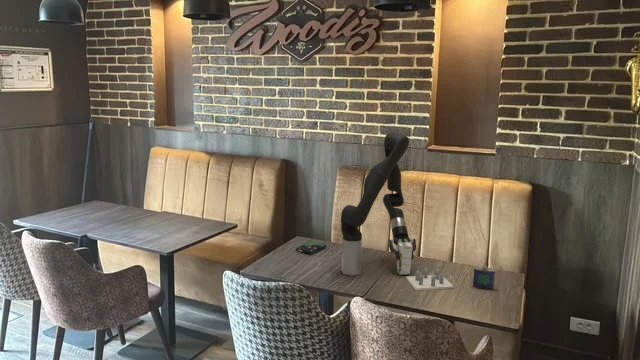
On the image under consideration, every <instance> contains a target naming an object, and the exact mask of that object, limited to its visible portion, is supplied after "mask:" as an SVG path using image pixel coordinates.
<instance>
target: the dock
mask: <svg viewBox="0 0 640 360" xmlns="http://www.w3.org/2000/svg"><path fill="white" fill-rule="evenodd" d="M440 271H441V270H440V269H439V268H435V275H434V274H430V275H428V272H429V268H428V267H424V268H423V274H422V273H420V270H419V269H417V270H416V269H415V275H414V276H413V275H412V276H411V275H408V276H405V280H407V282H408V283H409V285H410V286H411V287H412V288H413V289H414V290H415V291H432V290H433V291H435V290H447V289H448V290H452V289H454V286H453V284H452V283H451V282H450V281H449V280H447V278H446V277H444V276H445V273H443V272H440Z"/></svg>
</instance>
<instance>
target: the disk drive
mask: <svg viewBox="0 0 640 360" xmlns="http://www.w3.org/2000/svg"><path fill="white" fill-rule="evenodd" d="M325 249H327V244H325V243H321V242H316V241H308V242H307V243H305V244H302V245H300V246H298V247H296V249H295V252H296V251H298V252H297V253H299V252H301V253H300V254H303V253H304V255H307V254H308V256H314V255H315V254H317V253H319V252H321V251H324V250H325ZM313 254H314V255H313Z"/></svg>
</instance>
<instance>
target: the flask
mask: <svg viewBox="0 0 640 360" xmlns="http://www.w3.org/2000/svg"><path fill="white" fill-rule="evenodd" d="M487 267H488V265H484V266H483V267H480V266H478V267H474V269H473V282H472V287H473V288H475V289H480V290H491V291H492V290H494V288H495V278H496V270H495V269H489V268H487Z"/></svg>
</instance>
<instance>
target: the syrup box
mask: <svg viewBox="0 0 640 360" xmlns="http://www.w3.org/2000/svg"><path fill="white" fill-rule="evenodd" d="M398 244H399V249H398V252H399V256H400V260H397V259H396V273H398V275H411V268H412V267H411V266H412V260H411V256H412V244H411V242H409V243H407V242H400V243H398Z"/></svg>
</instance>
